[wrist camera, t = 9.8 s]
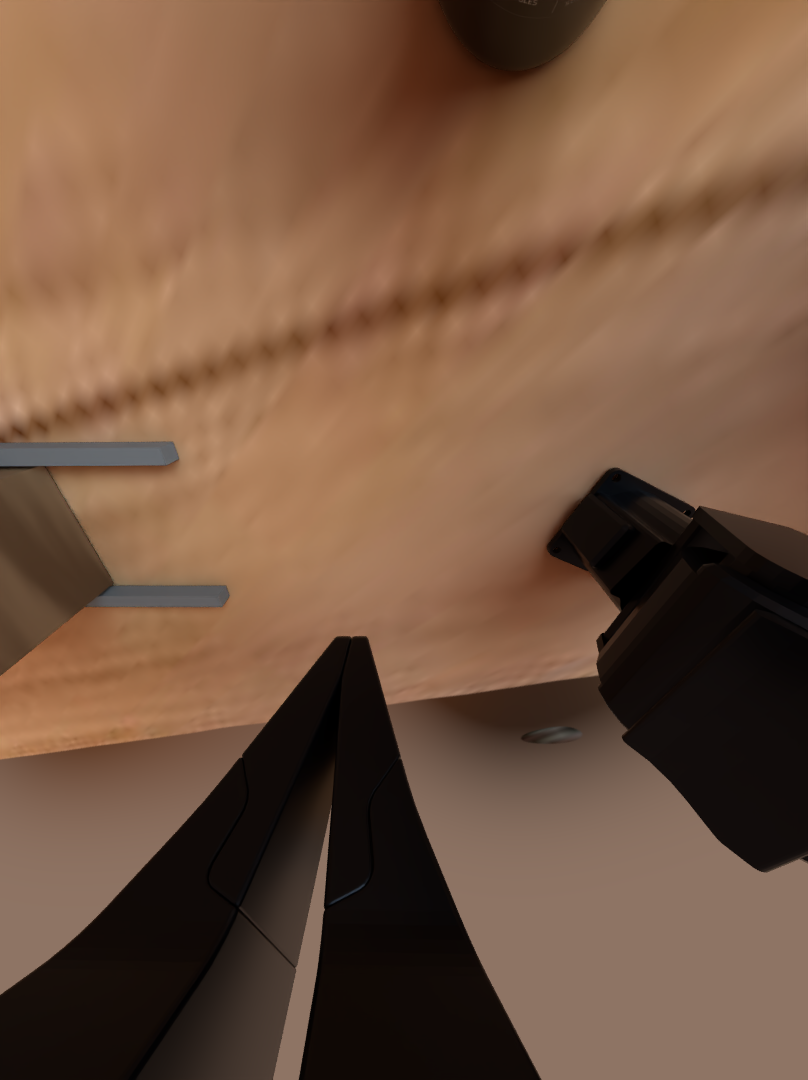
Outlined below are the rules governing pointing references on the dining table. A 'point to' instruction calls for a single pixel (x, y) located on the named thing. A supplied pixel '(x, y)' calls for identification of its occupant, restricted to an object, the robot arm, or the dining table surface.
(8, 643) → the walnut block
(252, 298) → the dining table surface
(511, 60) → the supplement bottle
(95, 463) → the backstop rail
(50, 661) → the dining table surface
